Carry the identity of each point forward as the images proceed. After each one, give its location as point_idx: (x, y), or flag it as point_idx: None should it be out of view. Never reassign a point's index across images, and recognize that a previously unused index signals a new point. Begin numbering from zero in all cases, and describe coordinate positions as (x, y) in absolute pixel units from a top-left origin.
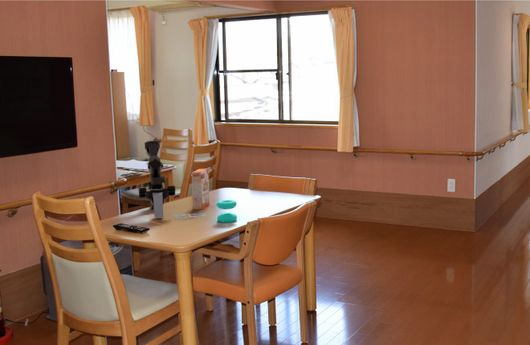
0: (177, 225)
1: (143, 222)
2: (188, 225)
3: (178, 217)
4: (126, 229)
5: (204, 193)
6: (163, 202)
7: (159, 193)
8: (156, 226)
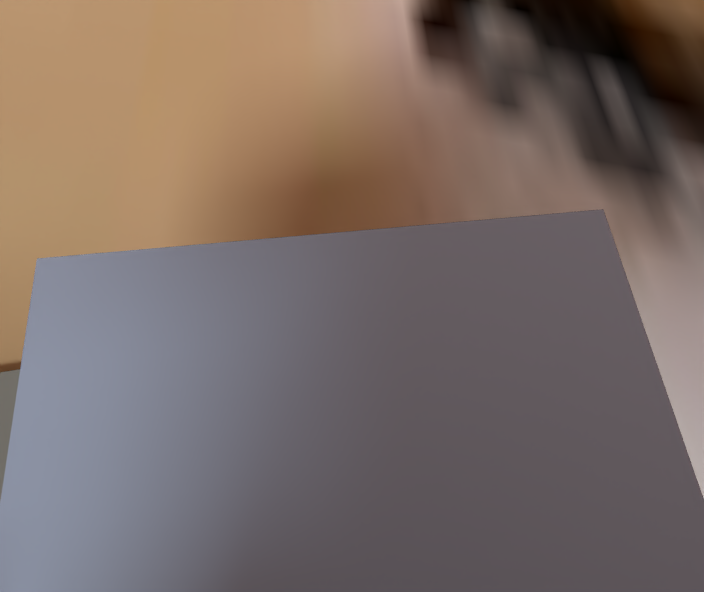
0: (123, 96)
1: None
2: (8, 72)
3: None
4: (656, 58)
5: None
6: None
7: (199, 590)
8: (354, 104)
